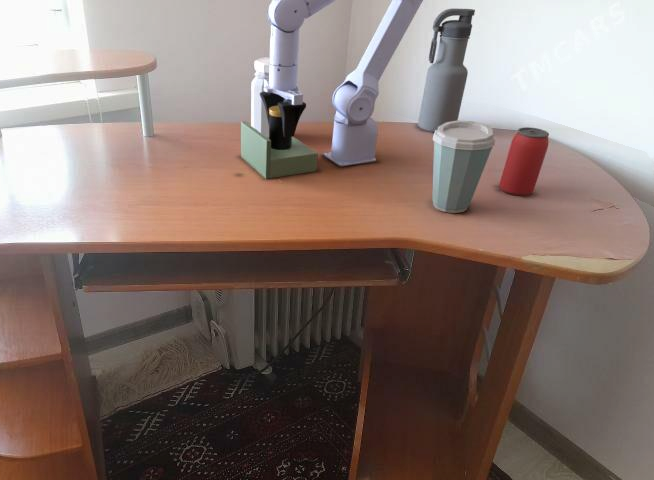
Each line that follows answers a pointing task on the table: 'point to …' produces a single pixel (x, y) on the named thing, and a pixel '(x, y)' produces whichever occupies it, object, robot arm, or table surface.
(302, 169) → the shelf
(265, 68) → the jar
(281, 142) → the canister
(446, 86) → the water bottle
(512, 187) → the beer can
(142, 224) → the table surface
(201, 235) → the table surface
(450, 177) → the disposable coffee cup
